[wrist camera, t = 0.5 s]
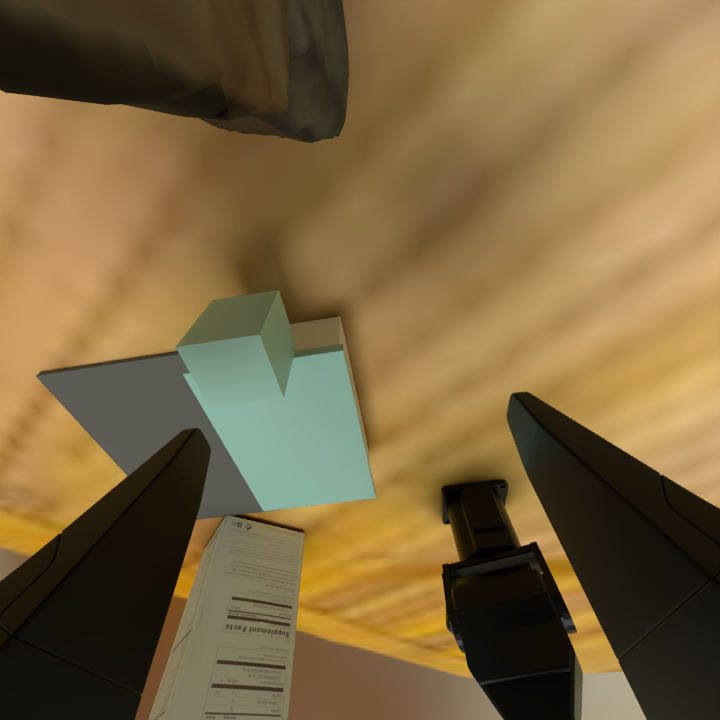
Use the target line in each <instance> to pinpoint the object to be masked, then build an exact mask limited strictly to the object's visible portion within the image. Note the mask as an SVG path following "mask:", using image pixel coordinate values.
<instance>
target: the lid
mask: <svg viewBox="0 0 720 720" xmlns="http://www.w3.org/2000/svg"><path fill="white" fill-rule="evenodd" d="M295 348H296V343H295V340H294V337H293V333H292V330H291V327H290V324H289V321H288V318H287V315H286V311H285V308H284V305H283V302H282V299H281V296H280V292H279V290H273V291H267V292H261V293H255V294H249V295H242V296H236V297H230V298H224V299H218V300H212V302H211V303H210V304H209V306H208V307H207V308H206V309H205V311H204V312H203V313H202V314H201V316H200V317H199V318H198V319H197V321H196V322H195V323H194V325H193V326H192V327H191V328H190V330H189V331H188V332H187V333H186V335H185V336H184V337H183V338H182V340H181V341H180V342H179V343H178V345H177V346H176V349H177V351H178V353H179V354H180V356H181V358H182V360H183V361H184V363H185V365H186V367H187V369H186V370H185V371H184V373H183V376H184V377H185V379H186V381H187V382H188V384H189V386H190V388H191V389H192V391H193V393H194V394H195V396H196V398H197V399H198V401H199V403H200V405H201V406H202V408H203V410H204V411H205V413H206V415H207V416H208V418H209V420H210V421H211V423H212V425H213V427H214V428H215V430H216V432H217V433H218V435H219V437H220V438H221V440H222V442H223V444H224V445H225V447H226V449H227V450H228V452H229V454H230V455H231V457H232V459H233V461H234V462H235V464H236V466H237V467H238V469H239V471H240V472H241V474H242V476H243V478H244V479H245V481H246V483H247V484H248V486H249V488H250V489H251V491H252V493H253V494H254V496H255V498H256V500H257V501H258V503H259V505H260V506H261V508H262V510H263V511H270V510H279V509H287V508H296V507H304V506H313V505H321V504H330V503H338V502H346V501H355V500H363V499H372V498H376V493H375V487H374V482H373V477H372V473H371V468H370V464H369V459H368V454H367V450H366V445H365V441H364V436H363V432H362V427H361V422H360V418H359V413H358V409H357V404H356V399H355V395H354V390H353V386H352V381H351V377H350V372H349V367H348V363H347V358H346V354H345V349H344V345H343V344H338V345H332V346H325V347H318V348H311V349H305V350H298V351H295Z"/></svg>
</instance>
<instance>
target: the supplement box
mask: <svg viewBox="0 0 720 720" xmlns="http://www.w3.org/2000/svg"><path fill="white" fill-rule="evenodd" d="M304 537H305V534H304V533H301V532H297V531H293V530H289V529H284V528H280V527H276V526H272V525H268V524H263V523H259V522H255V521H251V520H246V519H242V518H238V517H234V516H230V515H227V516H226V517H225V518H224V519H223V521H222V523H221V524H220V526H219V527H218V529H217V530H216V532H215V534H214V535H213V537H212V539H211V540H210V542H209V543H208V545H207V546H206V548H205V550H204V552H203V555H202V558H201V561H200V564H199V567H198V570H197V573H196V576H195V579H194V582H193V585H192V589H191V592H190V595H189V598H188V601H187V604H186V607H185V610H184V613H183V616H182V619H181V622H180V626H179V629H178V632H177V635H176V638H175V642H174V644H173V647H172V651H171V654H170V657H169V660H168V663H167V666H166V669H165V672H164V675H163V678H162V681H161V684H160V687H159V690H158V693H157V696H156V699H155V702H154V705H153V708H152V711H151V714H150V717H149V720H287V718H288V708H289V698H290V686H291V676H292V665H293V655H294V644H295V634H296V622H297V612H298V601H299V591H300V580H301V570H302V559H303V548H304Z"/></svg>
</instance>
